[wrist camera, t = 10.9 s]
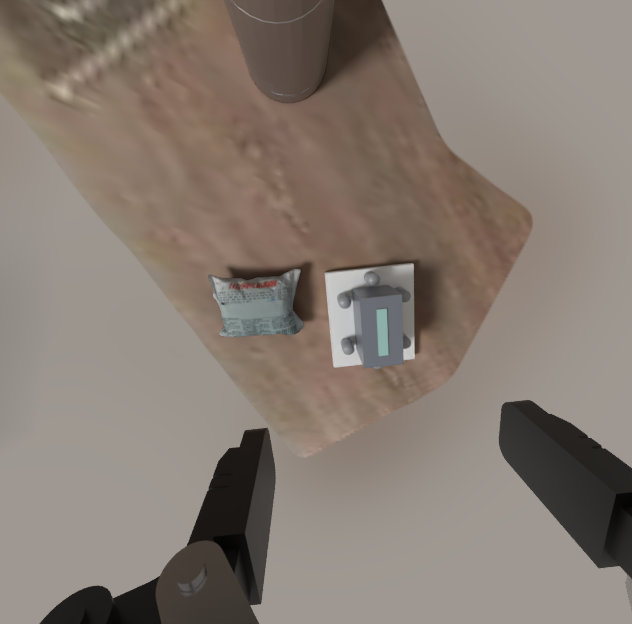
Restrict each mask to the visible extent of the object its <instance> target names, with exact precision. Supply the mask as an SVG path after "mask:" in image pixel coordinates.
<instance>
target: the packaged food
mask: <svg viewBox="0 0 632 624" xmlns="http://www.w3.org/2000/svg"><path fill="white" fill-rule="evenodd" d="M300 273H301V270H300V269H292V270H290V271H289V272H286V273H284V274H283V275H281V276H272V277H258V278H254V279H250V280H245V279H242V278H220V277H217V276H214V275H208V278H209V281H210V283H211V285H212V288H213V290H214V293H213V296H214V298H215V299H216V300H217V302H218V304H219V306H220V309H221V313H222V320H223V323H224V327H223V328H222V330H221V331H220V332H219V335H220V336H225V337H241V336H253V335H271V334H285V335H293V334H296V333H298V332H300V330H301V329H303V327H304V324H303V321H302V320H301V319H300V318H299V317H298V316H297V315H296V313H295V312H294V310H293V301H294V296H295V292H296V287H297V283H298V279H299V277H300ZM214 287H215V288H214Z"/></svg>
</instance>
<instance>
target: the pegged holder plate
mask: <svg viewBox="0 0 632 624" xmlns="http://www.w3.org/2000/svg"><path fill="white" fill-rule="evenodd" d="M325 282H326V293H327V304H328V314H329V325H330V336H331V346H332V357H333V366H334V367H343V366H352V365H361V364H362V362H361V360H360V357H359V355H358V352H357V350H356V339H355V325H354V311H353V297H352V289H354V288H363V287H373V286H382V285H389V286H391V287H392V288H394V289H395V290H397V291H398V292H399V293H401V294H402V313H403V358H404V360H408V359H415V353H414V264H412V263H406V264H396V265H387V266H378V267H368V268H359V269H349V270H340V271H331V272H325ZM382 367H383V366H380V367H373V368H375V369H380V368H382Z"/></svg>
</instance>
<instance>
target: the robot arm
mask: <svg viewBox="0 0 632 624" xmlns="http://www.w3.org/2000/svg"><path fill="white" fill-rule="evenodd" d="M224 2H225V5H226V8H227V11H228V13H229V16H230V19H231V22H232V25H233V27H234V30H235V33H236V36H237V38H238V41H239V44H240V47H241V50H242V53H243V55H244V58H245V61H246V64H247V66H248V69H249V72H250V75H251V77H252V79H253V80H254V82H255V84H256V85H257V87H258V88H259V89H260V90H261V91H262V92H263V93H264V94H265V95H266V96H268V97H269V98H271V99H273V100H275V101H278V102H282V103H294V102H298V101H301V100H303V99H305V98H307V97H308V96H310V95H311V94H312V93H313V92H314V91H315V90H316V89H317V87H318V86H319V85H320V83H321V81H322V79H323V76H324V73H325V69H326V64H327V57H328V49H329V42H330V35H331V27H332V19H333V11H334V3H335V0H224ZM499 446H500V450H501V452H502V454H503V456H504V458H505V460H506V461H507V462H508V463H509V464H510V466H511V467H512V468H513V469H514V470H515V471H516V472H517V474H518V475H519V476H520V477H521V478H522V480H523V481H524V482H525V483H526V484H527V485H528V487H529V488H530V489H531V490H532V491H533V492H534V494H535V495H536V496H537V497H538V498H539V499H540V501H541V502H542V503H543V504H544V505H545V506H546V507H547V509H548V510H549V511H550V512H551V513H552V514H553V516H554V517H555V518H556V519H557V520H558V521H559V523H560V524H561V525H562V526H563V527H564V528H565V530H566V531H567V532H568V533H569V534H570V535H571V537H572V538H573V539H574V540H575V541H576V542H577V544H578V545H579V546H580V547H581V548H582V549H583V551H584V552H585V553H586V554H587V555H588V556H589V557H590V559H591V560H592V561H593V562H594V563H595V564H596V566H597V567H598V568H605V567H614V566H620V567H621V568H622V569H623V570H624V571H625V572H626V573H627V578H626V588H627V592H628V597H629V601H630V605H631V610H632V468H631V467H629V466H628V465H627V464H625V463H624V462H623V461H621V460H620V459H619V458H617V457H616V456H615V455H613V454H612V453H610V452H609V451H608V450H606V449H603V448H602V447H601V445H600V444H598V443H597V442H595V441H594V440H593V439H592V438H588V436H587V435H586V434H585V433H583V432H582V431H581V430H579V429H578V428H577V427H575V426H574V425H572V424H571V423H569V422H567V421H565V420H563V419H561V418H559V417H556V416H554V415H552V414H548V413H547V412H546V411H544V410H543V409H542V408H540V407H539V406H538V405H536V404H535V403H534V402H532V401H530V400H524V401H515V402H506V403H504V404H503V406H502V409H501V421H500V433H499ZM274 490H275V464H274V458H273V453H272V446H271V440H270V435H269V430H268V428H263V429H253V430H246V431H245V432H244V435H243V438H242V441H241V444H240V447H237V448H229V449H228V451H227V452H226V453H225V454H224V455H223V457H222V458H221V459H220V460H219V461H218V464H217V467H216V470H215V472H214V475H213V479H212V480H211V483H210V486H209V491H207V494H206V497H205V499H204V502H203V505H202V507H201V510H200V513H199V515H198V518H197V520H196V523H195V526H194V529H193V531H192V534H191V537H190V540H189V542H188V544H187V546H186V547H185V548H183V549H182V550H181V551H179V552H178V553H177V554H176V555H175V556H174V557H173V558H172V559H171V560H170V561H169V562H168V564H167V565H166V566H165V568H164V569H163V571H162V573H161V575H160V576H159V577H157V578H156V579H154V580H152V581H150V582H148V583H146V584H144V585H142V586H139V587H137V588H135V589H133V590H131V591H129V592H126V593H124V594H122V595H120V596H117V597H115V598H112V596H111V593H110V591H109V590H108V589H107V588H104V587H103V586H91V587H88V588H84V589H82V590H80V591H78V592H76V593H74V594H72V595H71V596H69V597H68V598H66V599H65V600H63V601H62V602H61V603H60V604H58V605H57V606H56V607H55V608H54V609H53V610H52V611H51V612H50V613H49V614H48V615H47V616H46V617H45V618H44V619H43V620H42V621H41V623H40V624H259V623H258V621H257V619H256V617H255V615H254V613H253V611H252V609H251V607H250V605H257V604H261V600H262V591H263V584H264V575H265V567H266V566H265V565H266V558H267V549H268V541H269V532H270V524H271V515H272V507H273V499H274Z"/></svg>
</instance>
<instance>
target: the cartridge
mask: <svg viewBox="0 0 632 624" xmlns="http://www.w3.org/2000/svg"><path fill="white" fill-rule="evenodd" d="M352 297H353V311H354V325H355V339H356V350H357V352H358V355H359V357H360V360H361V362H362V364H363V367H364V368H371V367H380V366H389V365H398V364H404V358H403V313H402V294H401V293H399V292H398V291H397V290H395V289H394V288H392V287H391V286H389V285H382V286H373V287H363V288H354V289H352Z"/></svg>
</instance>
